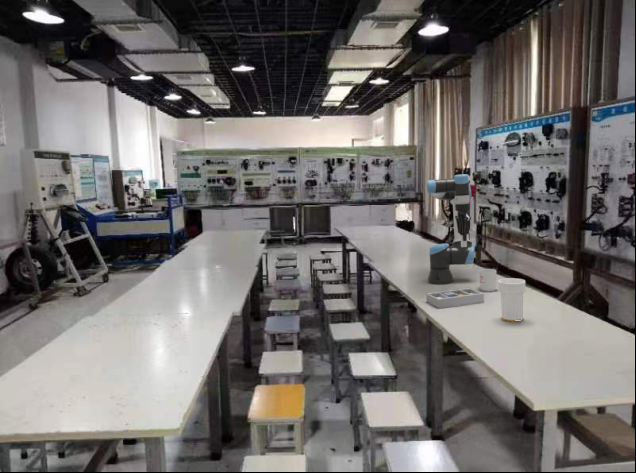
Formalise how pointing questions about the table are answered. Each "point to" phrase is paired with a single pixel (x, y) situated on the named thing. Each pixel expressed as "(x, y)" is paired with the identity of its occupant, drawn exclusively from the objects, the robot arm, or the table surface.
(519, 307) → the cup
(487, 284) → the mug
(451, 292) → the key slate
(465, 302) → the keypad
